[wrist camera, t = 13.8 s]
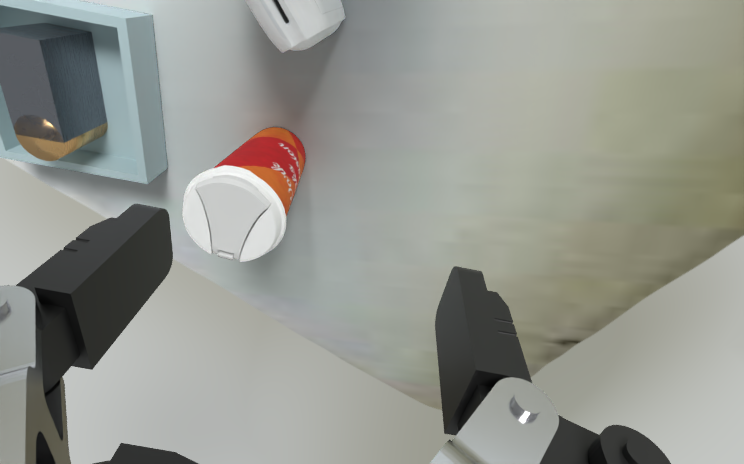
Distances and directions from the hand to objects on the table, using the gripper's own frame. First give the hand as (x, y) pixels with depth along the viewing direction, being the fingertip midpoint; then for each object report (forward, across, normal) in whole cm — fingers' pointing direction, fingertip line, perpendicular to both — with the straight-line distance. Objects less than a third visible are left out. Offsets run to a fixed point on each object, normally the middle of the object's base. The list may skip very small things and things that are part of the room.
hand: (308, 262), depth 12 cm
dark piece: (+28, +26, +6) cm, 39 cm away
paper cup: (+29, +8, +10) cm, 32 cm away
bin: (+29, +26, +7) cm, 40 cm away
